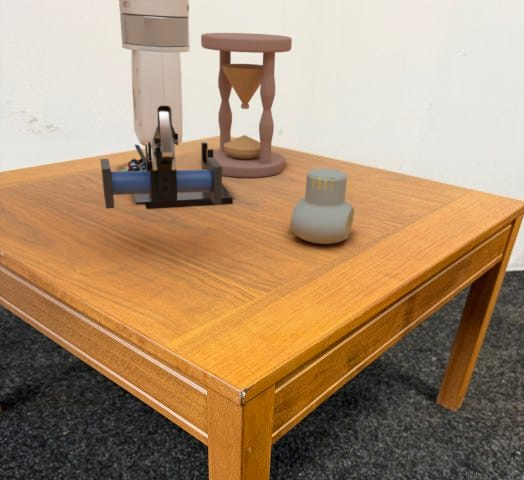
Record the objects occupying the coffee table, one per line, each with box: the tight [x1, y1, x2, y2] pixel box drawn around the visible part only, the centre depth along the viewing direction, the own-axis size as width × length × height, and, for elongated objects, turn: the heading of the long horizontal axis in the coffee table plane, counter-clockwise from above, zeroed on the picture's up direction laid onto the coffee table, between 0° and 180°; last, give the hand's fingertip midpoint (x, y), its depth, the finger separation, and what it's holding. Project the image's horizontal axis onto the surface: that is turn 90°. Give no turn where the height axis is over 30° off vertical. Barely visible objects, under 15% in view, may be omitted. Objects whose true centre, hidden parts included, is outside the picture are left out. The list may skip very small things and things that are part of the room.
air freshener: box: [290, 167, 355, 245], centre depth 83 cm, size 11×8×10 cm
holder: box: [132, 141, 234, 210], centre depth 98 cm, size 17×10×9 cm, turn 106°
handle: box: [99, 157, 223, 209], centre depth 70 cm, size 15×5×5 cm, turn 106°
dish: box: [121, 144, 147, 171], centre depth 113 cm, size 8×7×8 cm
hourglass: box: [200, 32, 293, 179], centre depth 113 cm, size 18×18×25 cm
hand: (162, 195), depth 71 cm, fingers closed on handle, 2 cm apart
